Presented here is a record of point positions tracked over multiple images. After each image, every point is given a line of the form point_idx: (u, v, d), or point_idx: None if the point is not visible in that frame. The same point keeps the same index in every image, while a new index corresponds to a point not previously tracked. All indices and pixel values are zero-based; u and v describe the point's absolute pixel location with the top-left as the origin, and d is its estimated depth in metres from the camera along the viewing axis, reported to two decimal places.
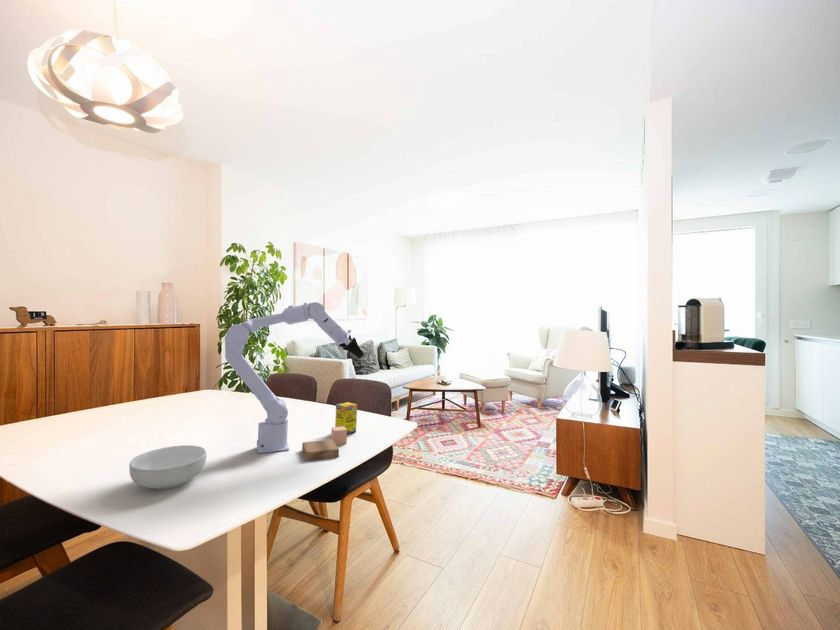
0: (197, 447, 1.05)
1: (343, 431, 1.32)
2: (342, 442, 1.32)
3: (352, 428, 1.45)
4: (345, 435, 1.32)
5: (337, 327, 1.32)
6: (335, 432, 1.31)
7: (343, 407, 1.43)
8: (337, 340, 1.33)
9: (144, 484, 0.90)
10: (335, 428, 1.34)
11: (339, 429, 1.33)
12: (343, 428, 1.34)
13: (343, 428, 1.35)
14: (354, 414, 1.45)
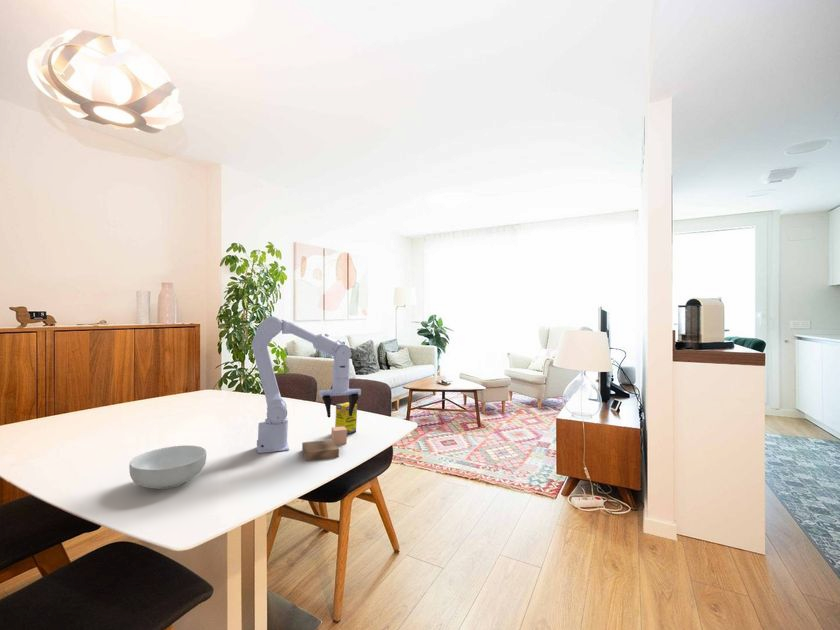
0: (197, 447, 1.05)
1: (343, 431, 1.32)
2: (342, 442, 1.32)
3: (352, 428, 1.45)
4: (345, 435, 1.32)
5: (334, 379, 1.32)
6: (335, 432, 1.31)
7: (343, 407, 1.43)
8: None
9: (144, 484, 0.90)
10: (335, 428, 1.34)
11: (339, 429, 1.33)
12: (343, 428, 1.34)
13: (343, 427, 1.35)
14: (354, 414, 1.45)
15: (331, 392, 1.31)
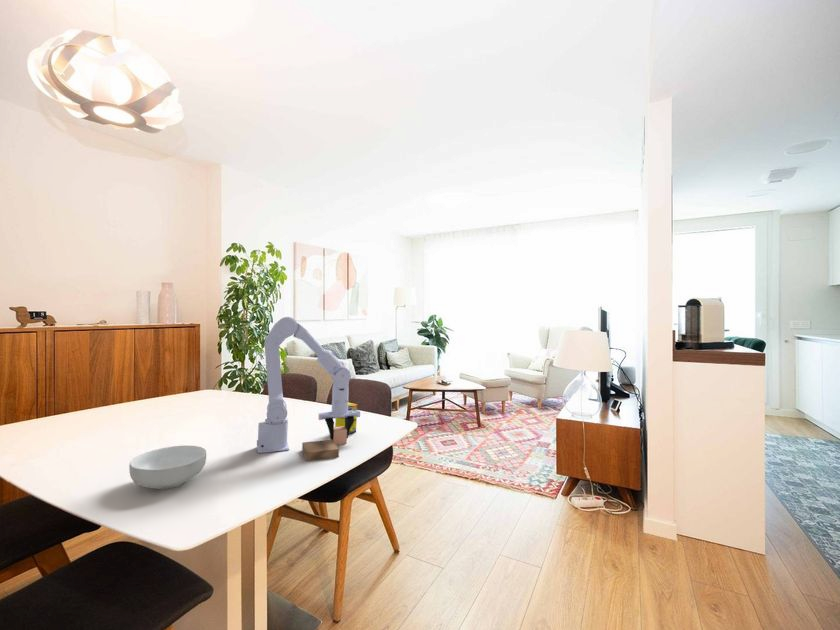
0: (197, 447, 1.05)
1: (343, 431, 1.32)
2: (342, 442, 1.32)
3: (352, 428, 1.45)
4: (345, 435, 1.32)
5: (333, 402, 1.32)
6: (335, 432, 1.31)
7: None
8: None
9: (144, 484, 0.90)
10: (335, 428, 1.34)
11: (339, 429, 1.33)
12: (343, 428, 1.34)
13: (343, 427, 1.35)
14: None
15: (330, 415, 1.31)
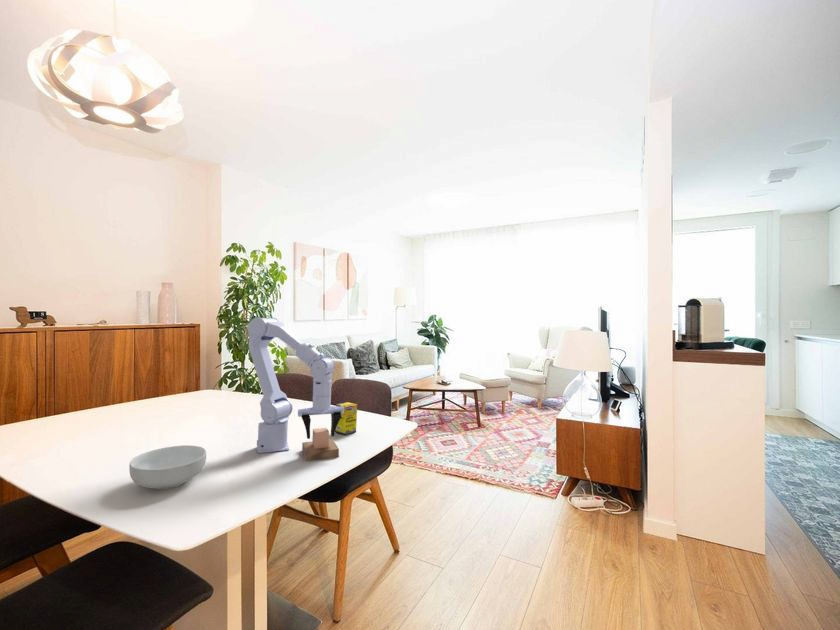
0: (197, 447, 1.05)
1: (325, 433, 1.21)
2: (324, 445, 1.21)
3: (352, 428, 1.45)
4: (327, 437, 1.21)
5: (314, 397, 1.20)
6: (316, 434, 1.20)
7: None
8: None
9: (144, 484, 0.90)
10: (316, 430, 1.22)
11: (320, 431, 1.21)
12: (325, 430, 1.23)
13: (325, 429, 1.23)
14: (354, 414, 1.45)
15: (311, 411, 1.19)
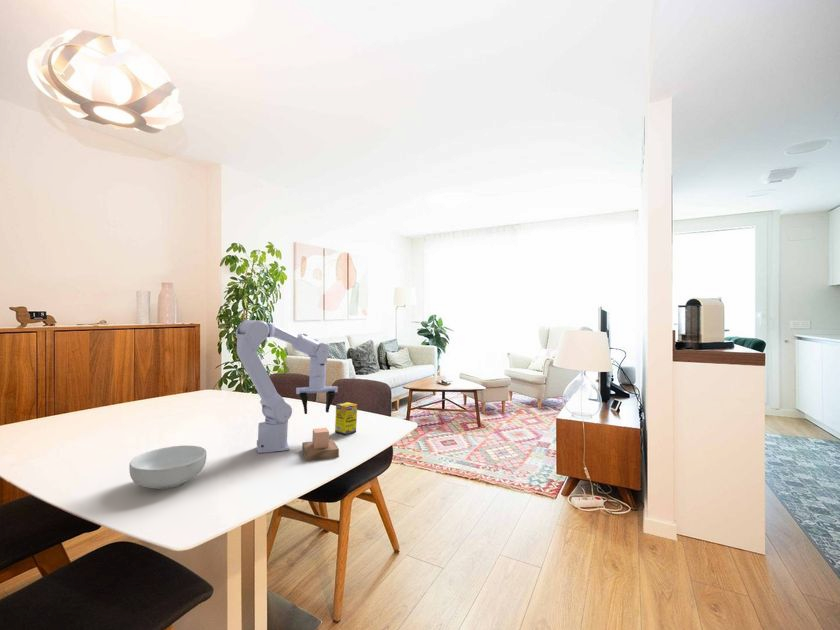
0: (197, 447, 1.05)
1: (325, 433, 1.21)
2: (324, 445, 1.21)
3: (352, 428, 1.45)
4: (327, 437, 1.21)
5: (311, 377, 1.35)
6: (316, 434, 1.20)
7: (343, 407, 1.43)
8: None
9: (144, 484, 0.90)
10: (316, 430, 1.22)
11: (320, 431, 1.21)
12: (325, 430, 1.23)
13: (325, 429, 1.23)
14: (354, 414, 1.45)
15: (308, 389, 1.34)
